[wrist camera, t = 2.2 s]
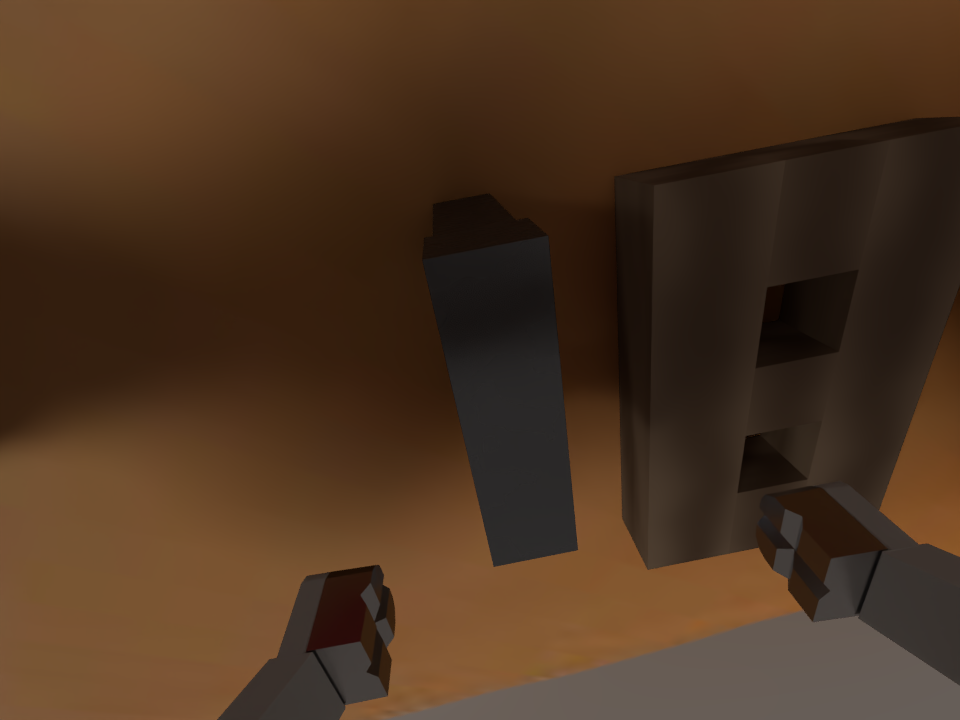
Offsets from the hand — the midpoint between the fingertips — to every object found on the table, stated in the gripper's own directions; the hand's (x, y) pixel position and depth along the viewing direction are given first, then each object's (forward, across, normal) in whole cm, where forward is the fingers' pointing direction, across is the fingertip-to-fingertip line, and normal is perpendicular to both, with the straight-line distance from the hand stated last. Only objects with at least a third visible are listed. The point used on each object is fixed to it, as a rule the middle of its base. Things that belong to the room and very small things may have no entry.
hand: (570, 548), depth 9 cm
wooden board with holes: (+15, -13, +6) cm, 21 cm away
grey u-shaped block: (+14, +1, 0) cm, 15 cm away
